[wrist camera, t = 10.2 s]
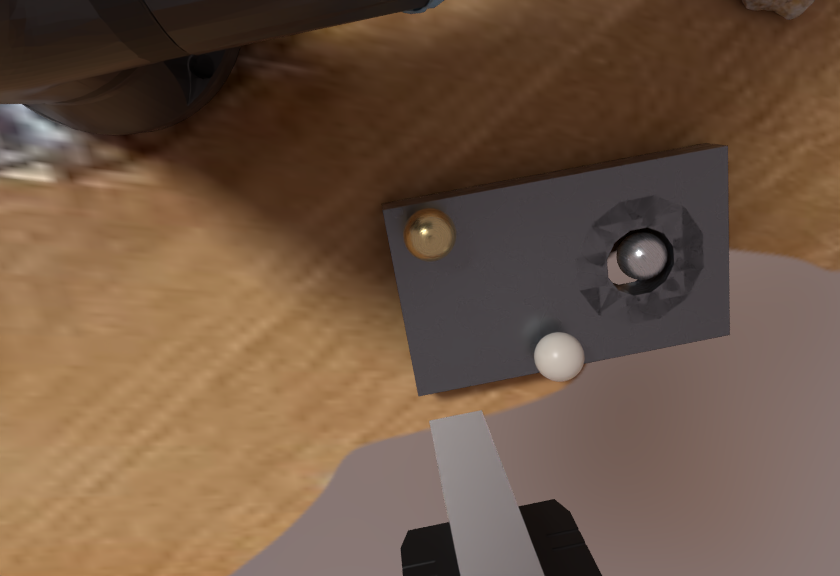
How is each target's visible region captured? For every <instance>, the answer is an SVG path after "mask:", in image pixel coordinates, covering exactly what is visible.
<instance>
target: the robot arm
mask: <svg viewBox="0 0 840 576" xmlns="http://www.w3.org/2000/svg"><path fill="white" fill-rule="evenodd" d="M443 1H444V0H0V104H23V105H24V106H26V107H27V108H29V109H30V110H32V111H34V112H35V113H37V114H39V115H41V116H43V117H44V118H47V119H49V120H51V121H53V122H56V123H58V124H61V125H64V126H66V127H70V128H73V129H77V130H81V131H85V132H90V133H96V134H105V135H127V134H136V133H143V132H150V131H155V130H159V129H163V128H166V127H169V126H171V125H174V124H176V123H178V122H180V121H182V120H184V119H186V118H188V117H190V116H191V115H193V114H194V113H196V112H197V111H198V110H200V109H201V108H202V107H203V106H204V105H206V104H207V103H208V102H209V101H210V100H211V99H212V98H213V97H214V95H215V94H216V93H217V92H218V91H219V89H220V88H221V87H222V85H223V84H224V82H225V81H226V79H227V77H228V76H229V74H230V72H231V70H232V68H233V66H234V63H235V61H236V58H237V56H238V52H239V49H240V46H242V45H247V44H252V43H256V42H261V41H266V40H271V39H275V38H280V37H285V36H289V35H294V34H299V33H303V32H308V31H313V30H318V29H322V28H327V27H332V26H336V25H341V24H346V23H351V22H355V21H360V20H365V19H369V18H374V17H379V16H383V15H388V14H393V13H398V12H403V13H408V14H415V13H422V12H425V11H426V9H429V8H435V7H436V6H437V5H439V4H440V3H441V2H443ZM429 422H430V427H431V432H432V438H433V443H434V448H435V453H436V459H437V464H438V469H439V474H440V480H441V485H442V490H443V496H444V501H445V506H446V510H447V516H448V521H449V522H447V523H443V524H438V525H433V526H428V527H423V528H418V529H413V530H409V531H408V532H407V535H406V537H405V539H404V541H403V544H402V546H401V558H402V568H403V576H602V575H601V573H600V571H599V569H598V567H597V565H596V563H595V561H594V559H593V557H592V555H591V553H590V551H589V549H588V547H587V545H586V544H585V541H584V539H583V537H582V535H581V533H580V531H579V530H578V527H577V525H576V523H575V521H574V519H573V517H572V515H571V513H570V511H568V510H567V509H566V508H565V507H563V506H562V505H561V504H560V503H558V502H557V501H556V500H555V499H552V500H548V501H543V502H538V503H533V504H528V505H524V506H518V505H517V502H516V499H515V497H514V494H513V492H512V489H511V486H510V484H509V481H508V478H507V476H506V473H505V471H504V468H503V465H502V463H501V460H500V458H499V455H498V452H497V449H496V447H495V444H494V442H493V439H492V436H491V434H490V431H489V428H488V426H487V423H486V421H485V418H484V415H483V413H482V410H481V411H476V412H471V413H466V414H461V415H456V416H451V417H446V418H441V419H436V420H431V421H429Z"/></svg>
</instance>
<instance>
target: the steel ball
mask: <svg viewBox="0 0 840 576" xmlns="http://www.w3.org/2000/svg"><path fill="white" fill-rule="evenodd" d="M666 262H667V249H666V246H665V244H664V243H663V241H662V240H661V239H660V238H659V237H657V236H656V235H654V234H651V233H648V232H637V233H634V234H631V235H629V236H628V237H626V238H625V239H624V240H623V241H622V242H621V244H620V245H619V247H618V250H617V263H618V265H619V267H620V269H621V270H622V271H623V273H625V274H626V275H627V276H629V277H631V278H634V279H638V280H645V279H649V278H652V277H654V276H656V275H657V274H659V273H660V272H661V271H662V270H663V268H664V267H665V265H666Z"/></svg>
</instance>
